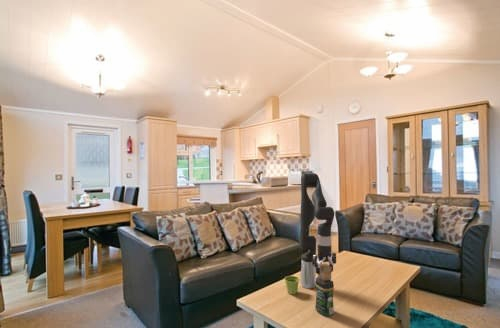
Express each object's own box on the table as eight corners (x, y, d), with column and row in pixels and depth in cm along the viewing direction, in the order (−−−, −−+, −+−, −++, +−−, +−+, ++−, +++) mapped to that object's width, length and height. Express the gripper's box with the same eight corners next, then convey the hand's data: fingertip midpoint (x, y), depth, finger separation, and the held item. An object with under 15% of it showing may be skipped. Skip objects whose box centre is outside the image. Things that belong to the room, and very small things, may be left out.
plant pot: (292, 297, 165) (292, 283, 165) (281, 291, 172) (281, 278, 172) (302, 293, 170) (302, 279, 170) (292, 287, 178) (292, 274, 178)
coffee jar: (312, 309, 151) (312, 276, 151) (323, 305, 155) (323, 273, 155) (325, 318, 143) (325, 283, 143) (336, 314, 147) (336, 280, 147)
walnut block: (318, 277, 150) (318, 264, 150) (325, 275, 152) (325, 263, 152) (323, 280, 146) (323, 268, 146) (331, 279, 147) (331, 266, 147)
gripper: (330, 240, 155) (330, 268, 155) (309, 242, 149) (309, 272, 150) (339, 243, 148) (339, 273, 148) (317, 246, 143) (317, 277, 143)
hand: (324, 272), depth 149 cm, fingers open, 8 cm apart
